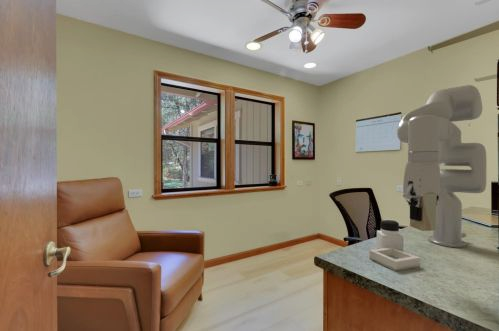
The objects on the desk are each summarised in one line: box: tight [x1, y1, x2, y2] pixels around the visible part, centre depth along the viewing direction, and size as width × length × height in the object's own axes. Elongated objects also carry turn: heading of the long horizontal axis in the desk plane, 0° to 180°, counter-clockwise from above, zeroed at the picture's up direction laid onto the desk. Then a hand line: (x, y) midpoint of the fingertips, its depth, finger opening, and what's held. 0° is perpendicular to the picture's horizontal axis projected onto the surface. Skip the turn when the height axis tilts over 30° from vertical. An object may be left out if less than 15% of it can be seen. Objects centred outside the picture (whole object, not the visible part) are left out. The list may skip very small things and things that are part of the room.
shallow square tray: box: [368, 247, 421, 272], centre depth 82 cm, size 10×10×3 cm
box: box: [409, 193, 437, 232], centre depth 72 cm, size 5×4×11 cm
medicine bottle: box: [376, 219, 404, 252], centre depth 93 cm, size 7×7×12 cm
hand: (422, 218), depth 72 cm, fingers closed on box, 5 cm apart
